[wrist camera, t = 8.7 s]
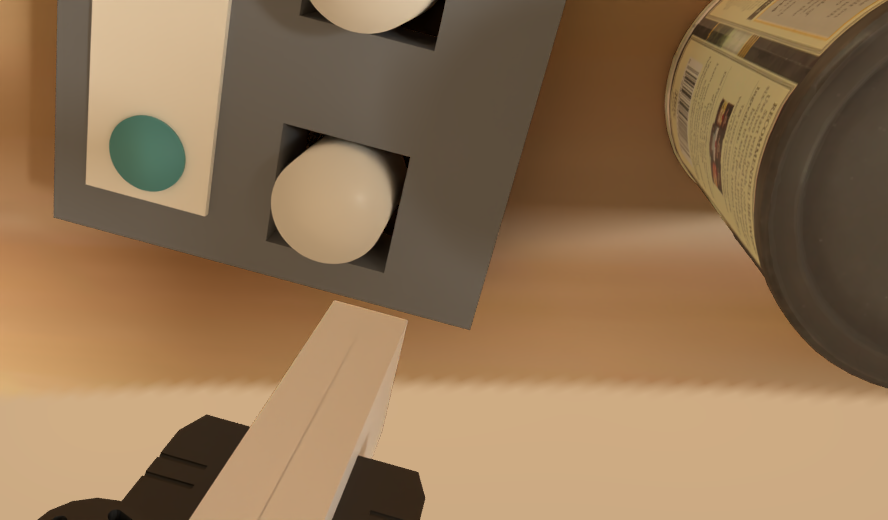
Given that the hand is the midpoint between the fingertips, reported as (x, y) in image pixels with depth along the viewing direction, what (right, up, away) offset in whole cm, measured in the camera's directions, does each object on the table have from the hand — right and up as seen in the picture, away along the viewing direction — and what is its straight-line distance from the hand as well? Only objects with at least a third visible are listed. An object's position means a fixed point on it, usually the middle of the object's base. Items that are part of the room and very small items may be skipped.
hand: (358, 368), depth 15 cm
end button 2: (-2, +6, +18) cm, 19 cm away
